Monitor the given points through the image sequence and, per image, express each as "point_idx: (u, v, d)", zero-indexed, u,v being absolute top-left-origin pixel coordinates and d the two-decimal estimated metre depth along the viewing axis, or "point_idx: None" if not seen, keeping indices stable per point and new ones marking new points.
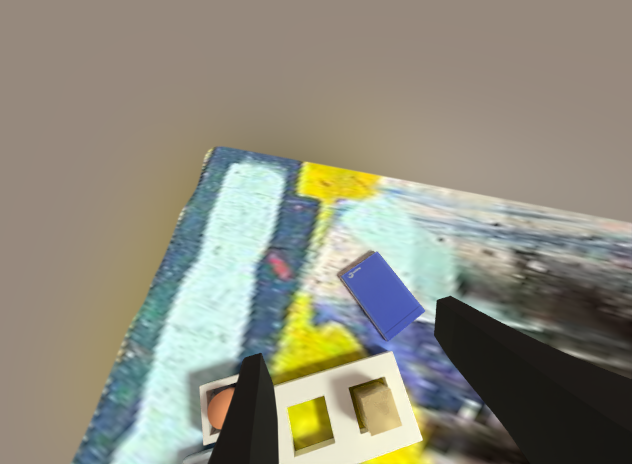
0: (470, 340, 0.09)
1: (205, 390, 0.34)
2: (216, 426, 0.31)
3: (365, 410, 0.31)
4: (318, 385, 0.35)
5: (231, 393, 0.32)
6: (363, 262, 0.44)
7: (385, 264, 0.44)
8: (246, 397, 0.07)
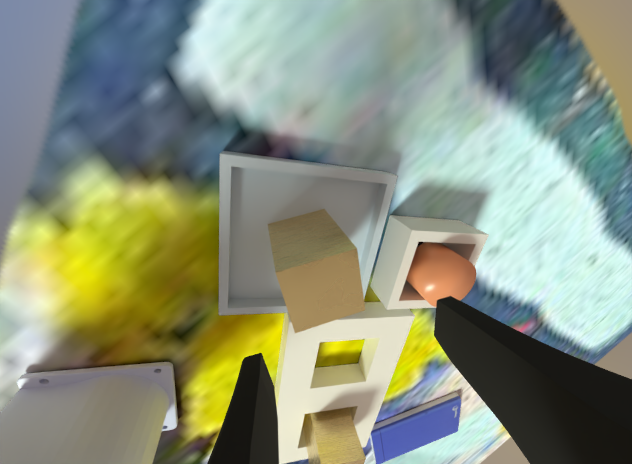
0: (470, 340, 0.09)
1: (477, 243, 0.19)
2: (438, 271, 0.17)
3: (350, 462, 0.21)
4: (379, 376, 0.24)
5: (462, 297, 0.18)
6: (457, 420, 0.34)
7: (440, 438, 0.35)
8: (246, 397, 0.07)
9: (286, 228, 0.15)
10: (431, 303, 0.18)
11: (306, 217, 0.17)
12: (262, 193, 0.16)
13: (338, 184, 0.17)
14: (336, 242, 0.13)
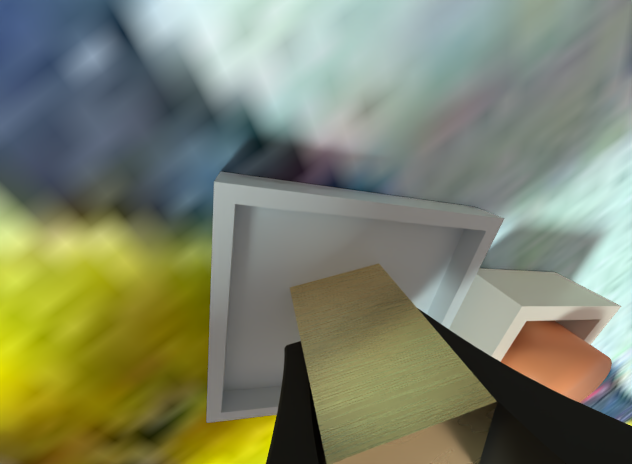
0: None
1: (602, 317, 0.12)
2: (561, 373, 0.10)
3: None
4: None
5: (578, 400, 0.12)
6: None
7: None
8: (297, 380, 0.07)
9: (323, 306, 0.09)
10: None
11: (354, 280, 0.10)
12: (284, 241, 0.10)
13: (405, 227, 0.10)
14: (437, 366, 0.07)
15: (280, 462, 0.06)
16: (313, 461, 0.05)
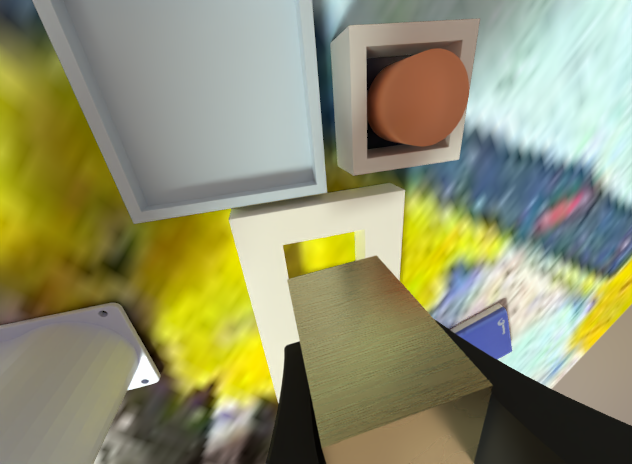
0: None
1: (464, 38, 0.12)
2: (402, 77, 0.11)
3: None
4: None
5: (455, 124, 0.12)
6: (508, 337, 0.28)
7: None
8: (297, 381, 0.07)
9: (320, 296, 0.09)
10: (408, 140, 0.12)
11: (351, 271, 0.10)
12: (121, 27, 0.11)
13: None
14: (434, 352, 0.07)
15: (280, 462, 0.06)
16: (313, 461, 0.05)
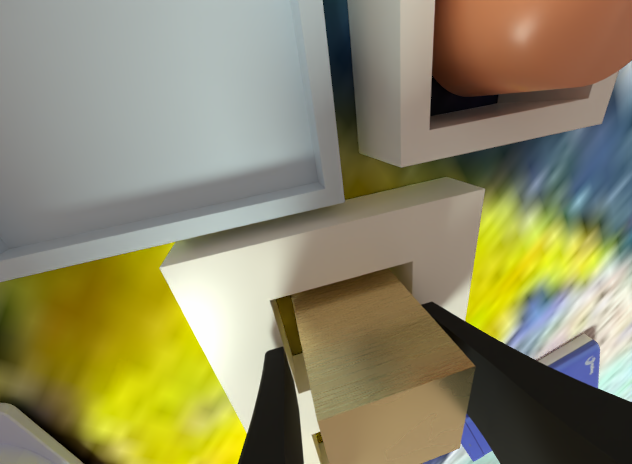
0: None
1: None
2: None
3: None
4: None
5: None
6: (595, 376, 0.20)
7: None
8: (273, 388, 0.07)
9: (318, 288, 0.10)
10: (547, 71, 0.05)
11: None
12: None
13: None
14: (422, 337, 0.07)
15: None
16: None
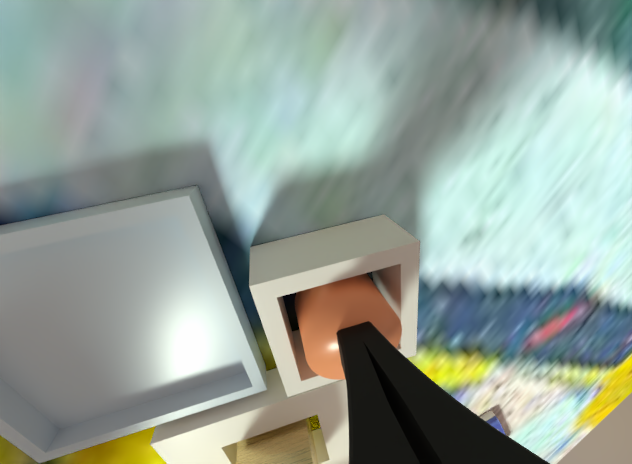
0: None
1: (403, 261, 0.10)
2: (314, 336, 0.09)
3: None
4: (347, 449, 0.17)
5: None
6: None
7: None
8: (360, 360, 0.08)
9: None
10: (335, 377, 0.10)
11: None
12: None
13: (108, 237, 0.09)
14: None
15: (364, 432, 0.06)
16: (397, 430, 0.06)
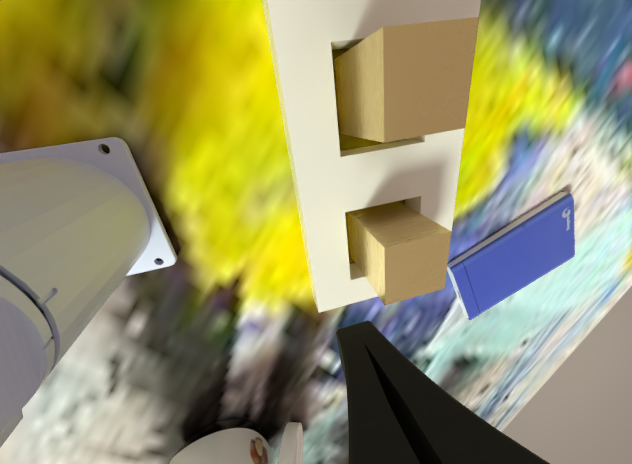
0: None
1: None
2: None
3: (429, 239, 0.14)
4: None
5: None
6: (572, 235, 0.24)
7: (551, 269, 0.26)
8: (360, 360, 0.08)
9: None
10: None
11: None
12: None
13: None
14: None
15: (364, 431, 0.06)
16: (397, 430, 0.06)
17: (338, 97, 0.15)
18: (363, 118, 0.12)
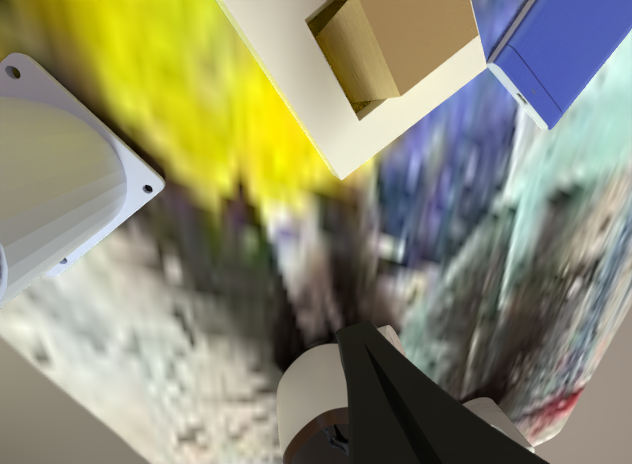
0: None
1: None
2: None
3: None
4: None
5: None
6: None
7: None
8: (360, 360, 0.08)
9: None
10: None
11: None
12: None
13: None
14: None
15: (364, 431, 0.06)
16: (397, 430, 0.06)
17: None
18: None
